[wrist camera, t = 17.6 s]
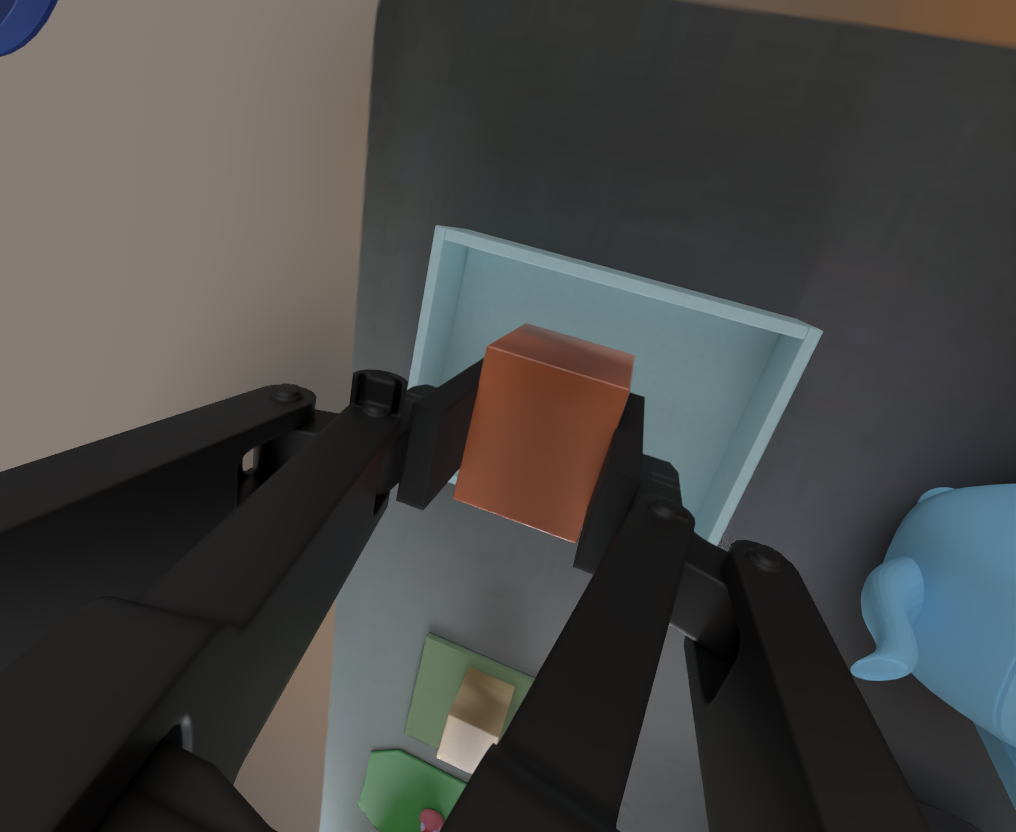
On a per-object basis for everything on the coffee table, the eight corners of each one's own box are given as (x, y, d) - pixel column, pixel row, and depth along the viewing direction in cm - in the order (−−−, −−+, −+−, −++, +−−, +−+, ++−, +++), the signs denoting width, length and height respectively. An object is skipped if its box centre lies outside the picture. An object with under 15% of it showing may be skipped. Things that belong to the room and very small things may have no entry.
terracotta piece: (494, 445, 19) (451, 499, 15) (525, 322, 17) (486, 344, 13) (592, 479, 18) (576, 544, 14) (635, 354, 17) (631, 389, 12)
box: (425, 437, 34) (394, 462, 30) (465, 228, 29) (435, 224, 25) (695, 534, 31) (702, 576, 27) (796, 318, 26) (824, 331, 22)
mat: (406, 728, 45) (403, 733, 44) (429, 632, 40) (426, 636, 40) (529, 786, 43) (528, 792, 42) (568, 692, 38) (566, 697, 38)
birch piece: (457, 707, 41) (435, 757, 37) (469, 665, 39) (448, 713, 35) (501, 727, 41) (484, 781, 36) (515, 686, 39) (499, 737, 35)
